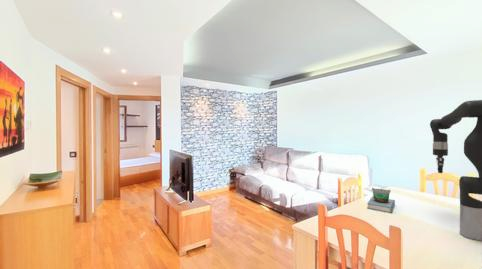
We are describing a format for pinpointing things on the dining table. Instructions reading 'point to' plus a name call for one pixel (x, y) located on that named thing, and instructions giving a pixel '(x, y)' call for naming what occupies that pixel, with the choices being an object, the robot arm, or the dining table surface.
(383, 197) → the food container
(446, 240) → the dining table surface
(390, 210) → the book
